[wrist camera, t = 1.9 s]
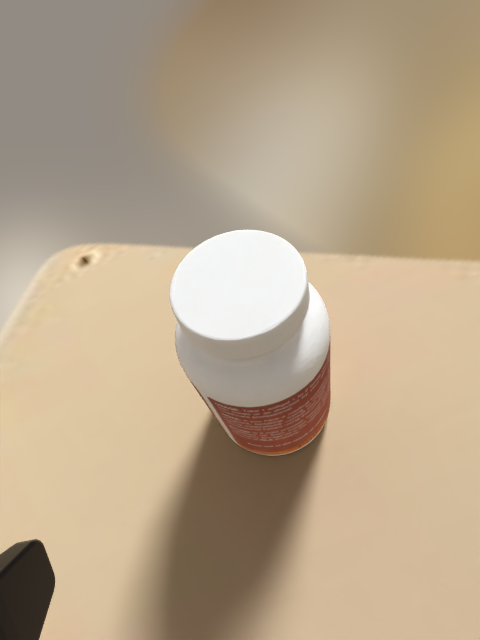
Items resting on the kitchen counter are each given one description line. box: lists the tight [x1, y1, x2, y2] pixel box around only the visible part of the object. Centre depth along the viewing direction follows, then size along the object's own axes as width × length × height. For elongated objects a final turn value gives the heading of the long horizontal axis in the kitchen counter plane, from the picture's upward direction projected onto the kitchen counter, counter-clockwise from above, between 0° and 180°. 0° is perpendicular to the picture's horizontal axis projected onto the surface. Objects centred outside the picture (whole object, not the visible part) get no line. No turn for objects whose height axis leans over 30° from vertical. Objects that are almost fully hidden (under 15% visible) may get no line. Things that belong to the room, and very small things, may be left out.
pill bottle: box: [170, 230, 330, 456], centre depth 18 cm, size 6×6×11 cm
